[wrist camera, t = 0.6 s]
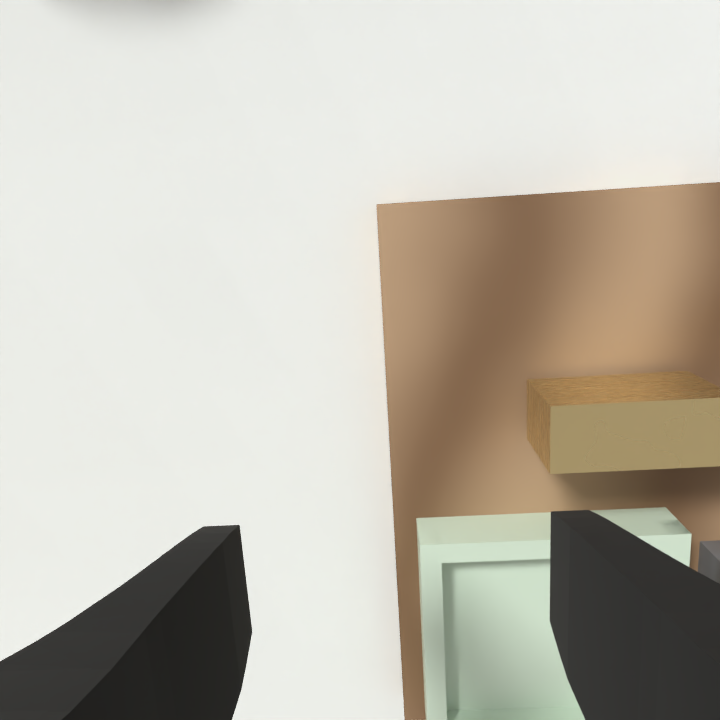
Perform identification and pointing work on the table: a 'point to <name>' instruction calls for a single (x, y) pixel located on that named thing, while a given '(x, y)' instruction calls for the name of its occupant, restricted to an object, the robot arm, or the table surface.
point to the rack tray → (504, 612)
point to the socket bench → (537, 354)
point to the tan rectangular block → (624, 422)
